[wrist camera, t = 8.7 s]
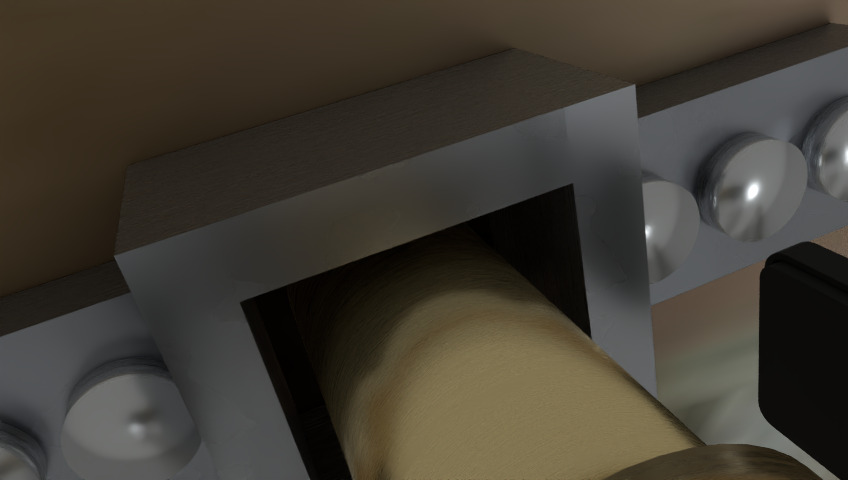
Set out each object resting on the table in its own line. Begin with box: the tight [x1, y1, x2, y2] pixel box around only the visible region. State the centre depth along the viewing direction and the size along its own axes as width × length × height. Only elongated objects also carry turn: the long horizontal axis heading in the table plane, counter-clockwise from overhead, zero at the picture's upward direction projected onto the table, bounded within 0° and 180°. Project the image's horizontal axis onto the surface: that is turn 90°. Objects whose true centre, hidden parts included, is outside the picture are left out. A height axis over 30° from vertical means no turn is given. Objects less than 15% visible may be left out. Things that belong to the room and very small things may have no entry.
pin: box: [287, 222, 823, 480], centre depth 10 cm, size 5×5×10 cm
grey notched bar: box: [0, 23, 848, 480], centre depth 13 cm, size 24×8×4 cm, turn 103°
